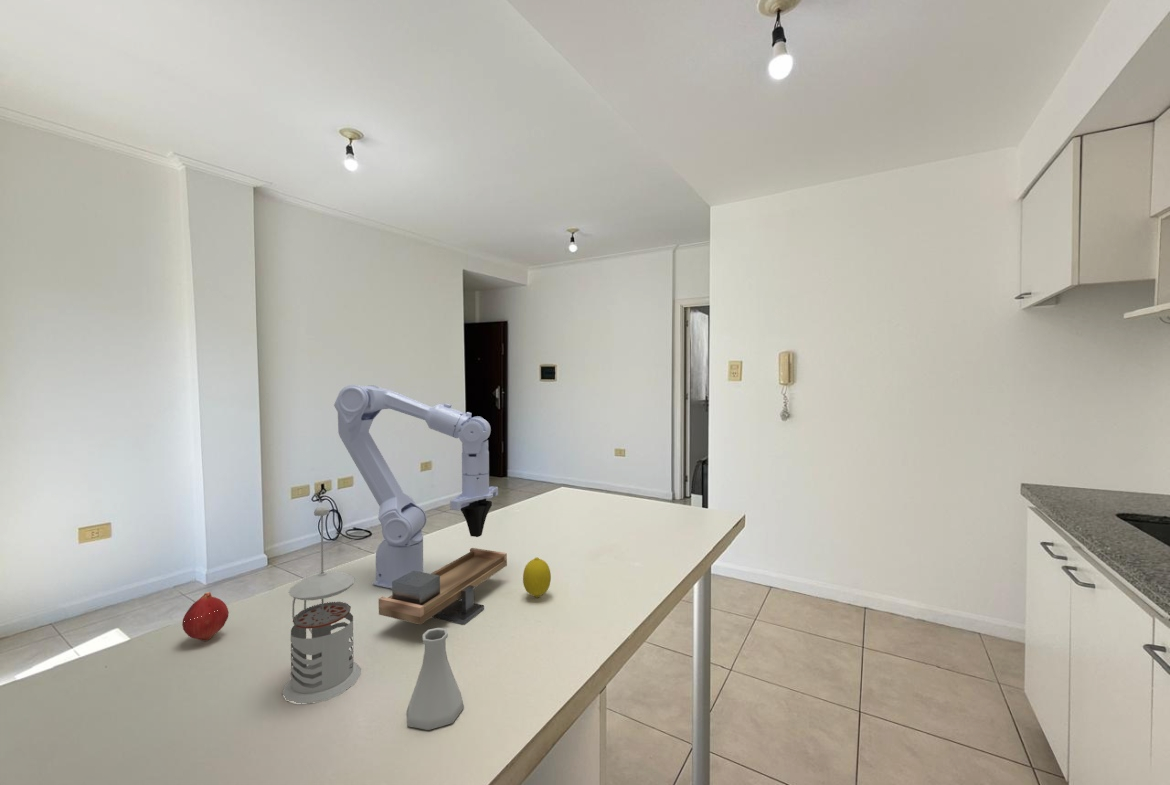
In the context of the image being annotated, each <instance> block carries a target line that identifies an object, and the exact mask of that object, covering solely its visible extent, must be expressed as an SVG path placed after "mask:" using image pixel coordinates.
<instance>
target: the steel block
mask: <svg viewBox="0 0 1170 785" xmlns="http://www.w3.org/2000/svg"><path fill="white" fill-rule="evenodd" d="M391 590H392V594H391V595H392V599H395V600H400V601H404V602H409V603H413V604H418V605H424V604H425V603H427V602H428V601H430V600H431V599H433V598H435V597H436V596H438V595H439V594H440V575H434V574H431V573H429V572H425V571H423V572H418V571H412V572H410V573H408V574H406V575H404V576H402V577H400V578H398V579H396V580H394V581H392V589H391Z"/></svg>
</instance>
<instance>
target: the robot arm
mask: <svg viewBox="0 0 1170 785" xmlns="http://www.w3.org/2000/svg"><path fill="white" fill-rule="evenodd" d="M333 407H334V408H335V409H336V411H337V427H338V428H337V430H338V432H337V433H338V436H339V438H340V440H341V441H342V443H343V445H344V447H345V448H346V450H347V451H348V454H349V455H350V458H352V461H353V462H354V464H355V466H356V468H357V469H358V472H359V473H360V475H361V476H362V478H363V480H364V481H365V482H364V483H366V485H367V487H368V489H369V490H370V492H371V494H372V496H373V497H374V499H375V502H376V503H377V504H378V506H379V509H378V510H379V511H378V517H377V518H378V521H379V522H380V525H381V533H382V536H383V540H381V542H380V544H378V546H377V549H376V552H375V580H374V581H373V582H372V585H373V586H377V587H382V588H387V589H391V590H392V581H394V580H396V579H398V578H400V577H402V576H404V575H406V574H408V573H410V572H412V571H418V572H424V535H423V534H422V530H423V529H424V528H425V526H426V524H427V518H428V516H427V514H426V512H425V510H424V509H423V508H422V507H421V506H419V505H417V504H416V502H415V501H414V499H413V498H412V497H411V496H410V495H408V494H406V493H404V492H403V490H402V487H401V486H400V484H399V482H398V481H397V478H396V477H395V476H394V474H393V472H392V471H391V468H390V467H389V465H388V463H387V462H386V460H385V458H384V456H383V454H382V452H381V451H380V449H379V447H378V446H377V444H376V442H375V441H374V439H373V437H372V435H371V433H370V428H371V427H372V424H373V421H374V419H375V418H376V417H377V416H378V415H379V414H380V413H381V411H382V410H388V409H389V410H393V411H396V412H399V413H402V414H405V415H408V416H410V417H413V418H414V417H415V418H417V419H420V420H423V421H425V423H426V425H427V426H428V429H430V430H433V431H436V432H439V433H441V434H444V435H447V436H449V437H452V438H454V439H459V440H460V442H461V444H462V445H461V449H462V450H461V494H459V495H458V496H456V497H455V498H453V499H451V500H449V505H450V506H449V508H450V509H449V510H450V511H455V512H456V511H457V512H458V511H460V512H461V514H462V515H463V517H464V519H465V521H466V524H467V528H468V531H469V535H470V537H475V538H479V537H481V536H482V535H483V530H484V527H485V526H484V525H485V523H486V519H487V516H488V514H489V511H490V510H491V508H492V504H493V503H492V501H491V500H489V499H492V498H494V497H497V496H499V487H498V486H490V451H489V439H488V438H490V435H491V431H492V429H491V425H490V423H489V421H487V420H486V419H484V418H483V417H482V416H478V415H477V416H473V417H472V412H470V411H467V412H463V411H460V410H458V409H455V408H452V404H449V403H447V402H446V403H444V404H442V403H438V404H436V405H434V406H430V405H428V404H426V403H423V402H421V401H419V400H416V399H414V398H411V397H408V396H407V395H404V394H401V393H400V392H397V391H394V390H392V389H389V388H384V387H379V386H376V385H358V384H357V385H356V384H350V385H347V386H344V387H343V388H342V389H341V390H340V391H339V393H338V395H337V397H336V399H335V401H334V404H333ZM487 499H488V500H487Z"/></svg>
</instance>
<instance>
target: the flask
mask: <svg viewBox="0 0 1170 785" xmlns="http://www.w3.org/2000/svg"><path fill="white" fill-rule="evenodd" d="M448 636H449V634H448V629H447V628H442V627H436V628H430V629H427V630H426V631H425V632H424V633H423V634H422V635H421V637H422V643H423V645H424V653H423V658H422V663H421V668H420V671H419V673H418V677H417V680H416V682H415V683H416V684H415V686H414V689H413V690H412V691H413V692H412V694H411V697H410V700H409V703H408V706H407V708H406V720H407V721H406V723H407V727H410V728H411V727H412V728H416V729H421V730H427V731H430V730H433V729H436V728H440V727H443V726H447V725H451V724H454V722H455V721H456V719H457V718H458V716H459V715H460V714H461V712H462V710H464V708H465V705H464V701H463V697H462V693H461V690H460V688H459V685H458V683H457V681H456V678H455V675H454V673H453V670H452V667H451V664H450V662H449V660H448V655H447V648H446V645H447V644H446V641H447V639H448Z"/></svg>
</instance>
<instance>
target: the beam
mask: <svg viewBox="0 0 1170 785" xmlns="http://www.w3.org/2000/svg"><path fill="white" fill-rule="evenodd" d="M507 557H508V555H507V552H501V551H497V550H490V549H489V550H488V549H482V548H476V547H475V548H474V547H471V548H470V549H469V552H467V553H465V554H463V555H461V556H460V557H459V558H457V559H455V560H453V561H451V562H449V563H448V564H445V565H444V566H442V567H440V568H438V569H436V570H435V571H434V572H433V571H432V573H430V574H434V575H440V594H439V595H438V596H436V597H435V598H433V599H431V600H430V601H428V602H427V603H425V604H424V605H418V604H413V603H409V602H404V601H400V600H395V599H392V594H391V595H389V596H388V597H386V596H381V597H379V598H378V615H379V616H383V617H384V616H385V617H388V618H392V619H396V620H400V621H404V622H407V623H412V624H417V625H422V624H423V623H425V622H427V621H428V620H430V619H431V618H433V617H432V616H434V615H435V614H437V613H438V612H440V611H441V610H443V609H444V608H445V607H447V606H448V605H450V604H451V603H453V602H454V601H456V600H460V599H461V590H463V589H464V588H466V587H467V586H469V585H471V586H474V589H475V588H476V587H478V586H479V585H480V584H482V583H484V582H486V581H487V580H488V579H490V578H491V577H492V576H494V575H495V574H497V573H498V572H500V571H502V570H503V569H504V568H506V567H507V565H508V558H507Z"/></svg>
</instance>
